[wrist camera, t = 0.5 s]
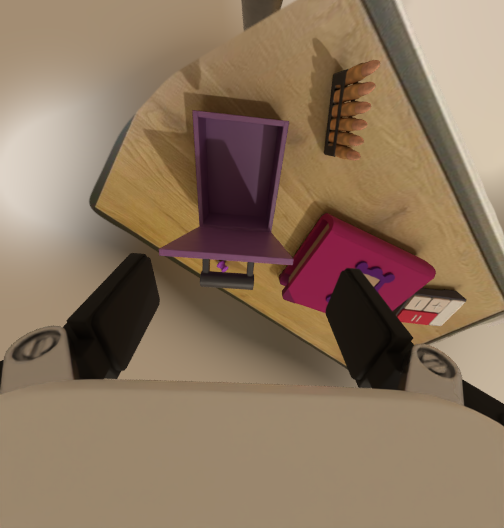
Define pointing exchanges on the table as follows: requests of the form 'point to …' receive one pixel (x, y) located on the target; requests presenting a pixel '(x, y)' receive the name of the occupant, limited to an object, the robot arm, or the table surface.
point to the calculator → (429, 307)
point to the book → (350, 265)
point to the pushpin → (222, 266)
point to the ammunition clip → (348, 110)
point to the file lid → (228, 253)
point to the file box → (238, 169)
